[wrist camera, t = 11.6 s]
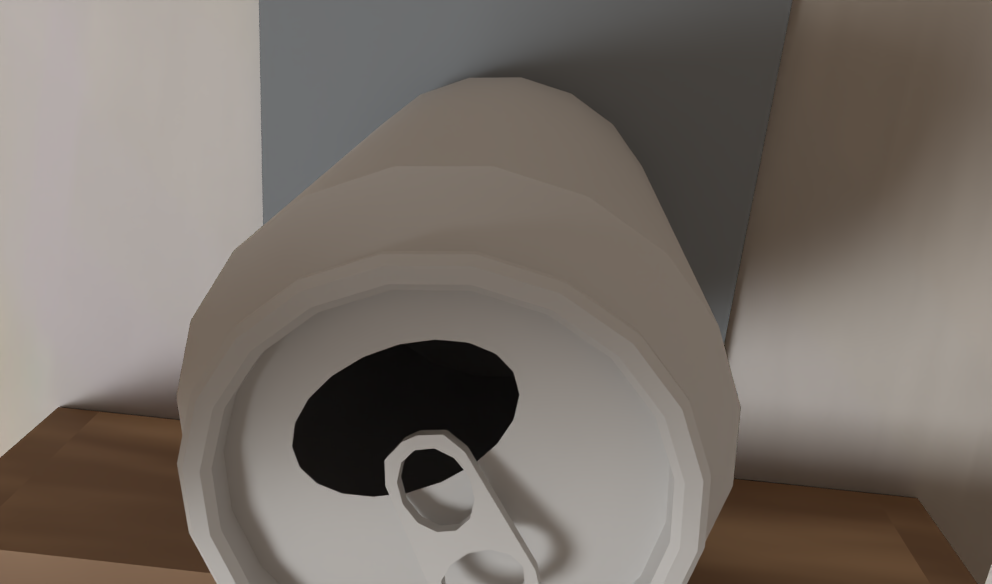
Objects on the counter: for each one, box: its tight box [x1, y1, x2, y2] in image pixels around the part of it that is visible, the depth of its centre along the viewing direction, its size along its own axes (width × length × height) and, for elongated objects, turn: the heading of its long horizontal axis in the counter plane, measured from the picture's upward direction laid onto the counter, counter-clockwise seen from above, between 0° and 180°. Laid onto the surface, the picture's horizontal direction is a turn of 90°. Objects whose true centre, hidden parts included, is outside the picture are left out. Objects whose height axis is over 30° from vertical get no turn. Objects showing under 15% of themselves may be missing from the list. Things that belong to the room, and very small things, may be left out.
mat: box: [259, 0, 792, 343], centre depth 21 cm, size 12×12×1 cm
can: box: [176, 77, 741, 584], centre depth 15 cm, size 8×8×12 cm
